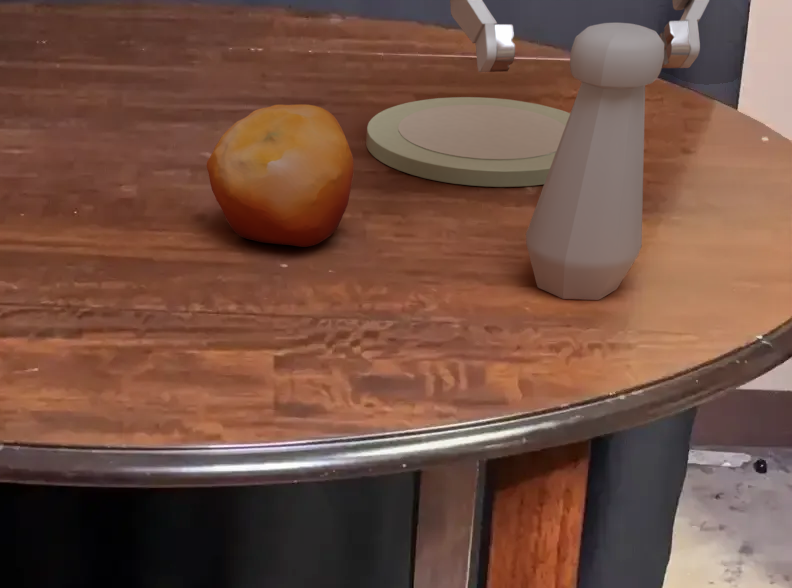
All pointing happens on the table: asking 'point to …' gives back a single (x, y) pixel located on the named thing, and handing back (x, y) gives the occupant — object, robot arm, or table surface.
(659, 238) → the table surface
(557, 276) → the salt shaker
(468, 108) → the plate
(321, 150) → the fruit
